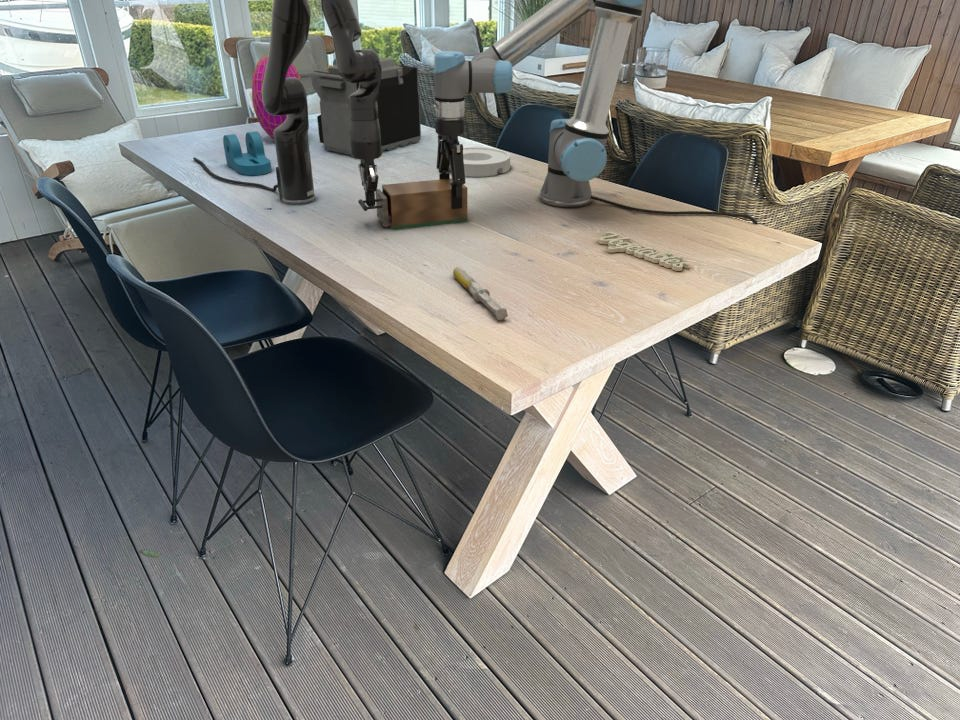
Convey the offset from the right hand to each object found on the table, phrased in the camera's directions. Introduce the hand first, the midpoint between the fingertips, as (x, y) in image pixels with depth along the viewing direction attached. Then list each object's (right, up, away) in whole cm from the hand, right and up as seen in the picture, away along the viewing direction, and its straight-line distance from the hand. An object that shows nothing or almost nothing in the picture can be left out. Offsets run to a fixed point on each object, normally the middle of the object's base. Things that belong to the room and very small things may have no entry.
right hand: (450, 202), depth 187 cm
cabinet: (-7, -5, 0) cm, 8 cm away
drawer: (-12, -5, -2) cm, 13 cm away
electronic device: (-33, +38, +71) cm, 87 cm away
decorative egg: (-68, +42, +77) cm, 111 cm away
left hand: (-21, -2, -8) cm, 22 cm away
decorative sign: (+47, -17, -20) cm, 54 cm away
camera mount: (-68, +21, +42) cm, 83 cm away
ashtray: (+7, +22, +46) cm, 52 cm away
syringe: (+8, -30, -42) cm, 52 cm away
